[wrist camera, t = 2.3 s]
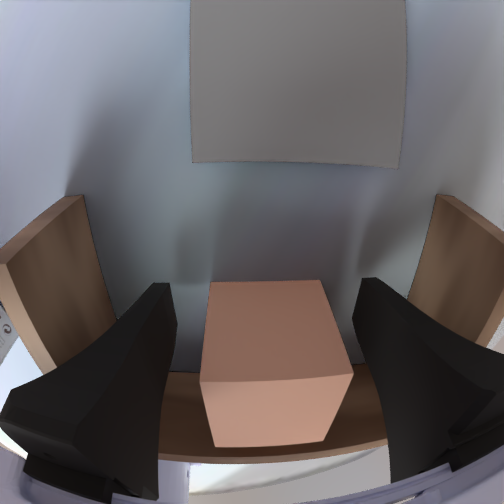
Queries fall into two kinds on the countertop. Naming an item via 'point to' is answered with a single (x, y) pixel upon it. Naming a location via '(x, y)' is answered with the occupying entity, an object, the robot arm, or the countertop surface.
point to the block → (271, 363)
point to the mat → (298, 81)
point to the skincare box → (6, 334)
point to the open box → (187, 384)
